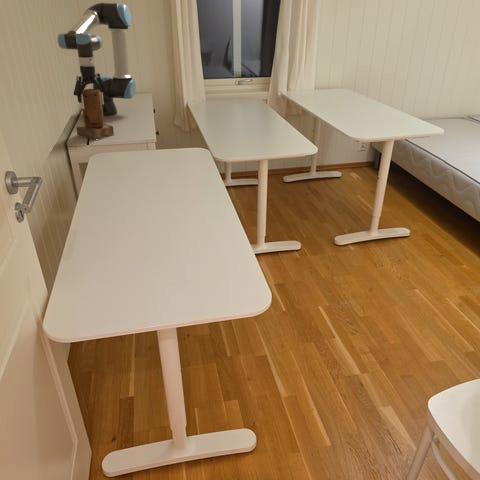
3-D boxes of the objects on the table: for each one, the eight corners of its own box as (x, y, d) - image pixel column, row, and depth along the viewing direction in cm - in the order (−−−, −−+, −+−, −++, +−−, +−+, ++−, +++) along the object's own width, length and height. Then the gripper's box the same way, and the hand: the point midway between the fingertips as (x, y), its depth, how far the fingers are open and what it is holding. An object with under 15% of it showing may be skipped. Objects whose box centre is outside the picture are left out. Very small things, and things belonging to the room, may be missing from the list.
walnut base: (97, 130, 263) (95, 121, 260) (113, 134, 256) (112, 126, 254) (77, 135, 252) (76, 126, 250) (94, 140, 246) (93, 131, 243)
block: (104, 124, 256) (100, 88, 246) (104, 128, 249) (99, 91, 239) (85, 124, 254) (80, 88, 244) (83, 128, 247) (78, 91, 237)
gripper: (72, 69, 225) (78, 111, 235) (110, 63, 243) (114, 103, 254) (62, 67, 228) (68, 109, 239) (100, 61, 246) (104, 101, 257)
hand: (92, 106), depth 246 cm, fingers open, 13 cm apart
